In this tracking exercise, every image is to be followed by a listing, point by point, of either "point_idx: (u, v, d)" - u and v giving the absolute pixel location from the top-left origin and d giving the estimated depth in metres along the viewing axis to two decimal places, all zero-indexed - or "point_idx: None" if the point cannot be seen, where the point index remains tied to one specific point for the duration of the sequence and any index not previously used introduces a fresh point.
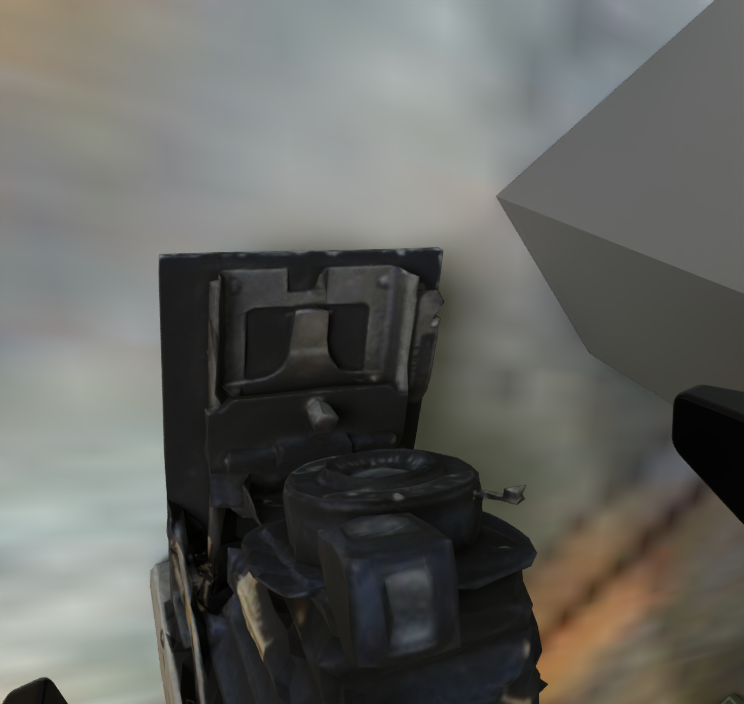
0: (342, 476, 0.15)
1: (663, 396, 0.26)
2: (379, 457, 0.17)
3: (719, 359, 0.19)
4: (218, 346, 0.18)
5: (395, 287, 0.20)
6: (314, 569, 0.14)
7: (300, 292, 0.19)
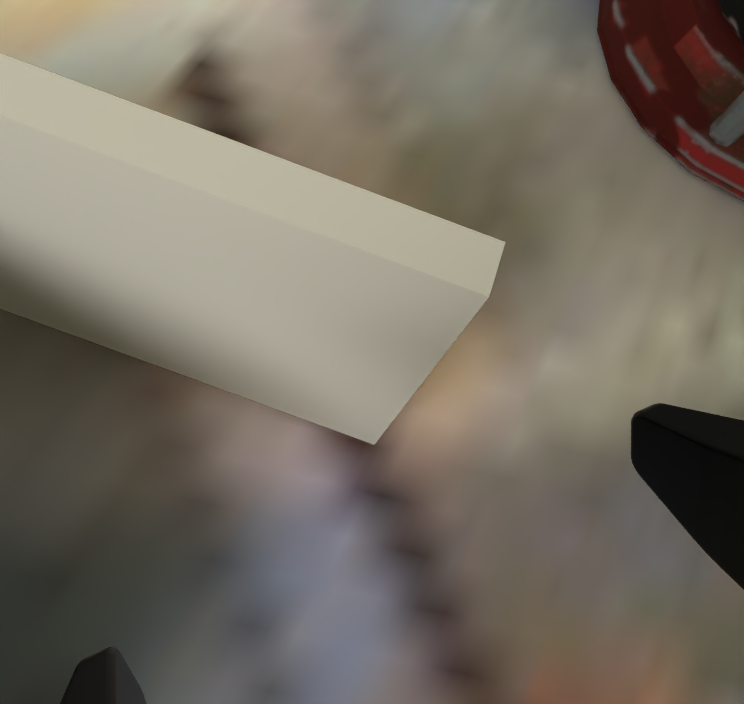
0: None
1: None
2: None
3: None
4: None
5: None
6: None
7: None
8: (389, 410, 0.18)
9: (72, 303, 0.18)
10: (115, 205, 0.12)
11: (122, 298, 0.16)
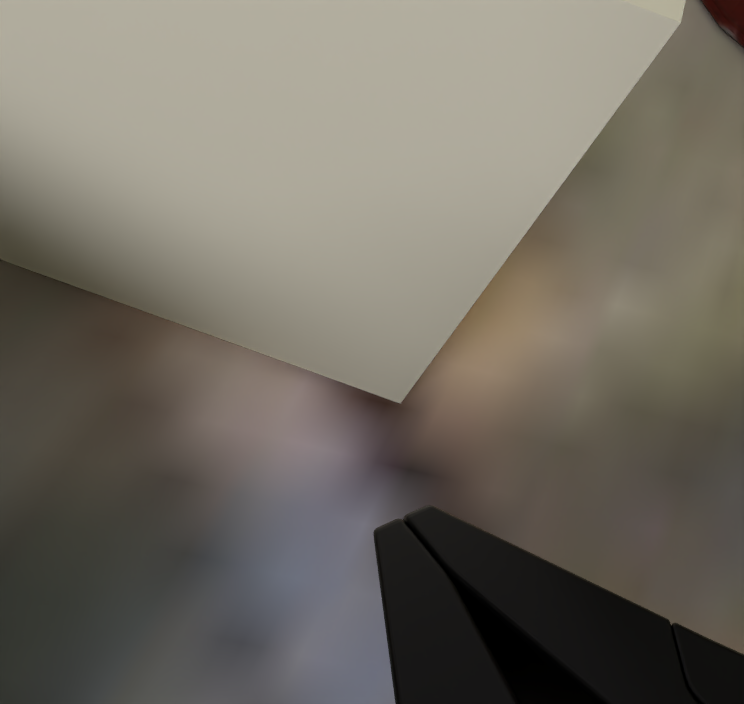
0: None
1: None
2: None
3: None
4: None
5: None
6: None
7: None
8: (430, 342, 0.13)
9: None
10: None
11: (45, 172, 0.11)
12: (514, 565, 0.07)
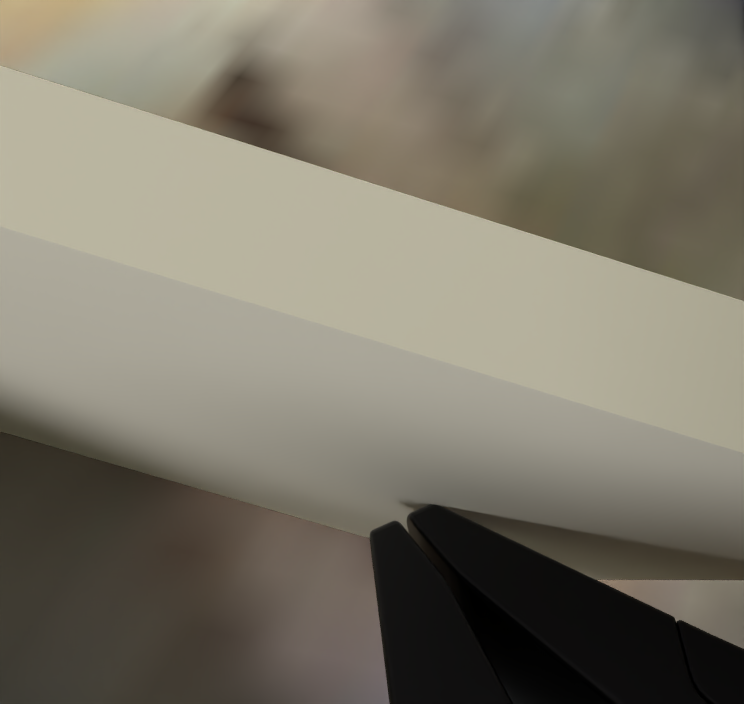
0: None
1: None
2: None
3: None
4: None
5: None
6: None
7: None
8: None
9: (79, 434, 0.12)
10: (189, 362, 0.05)
11: (165, 443, 0.10)
12: (518, 563, 0.07)
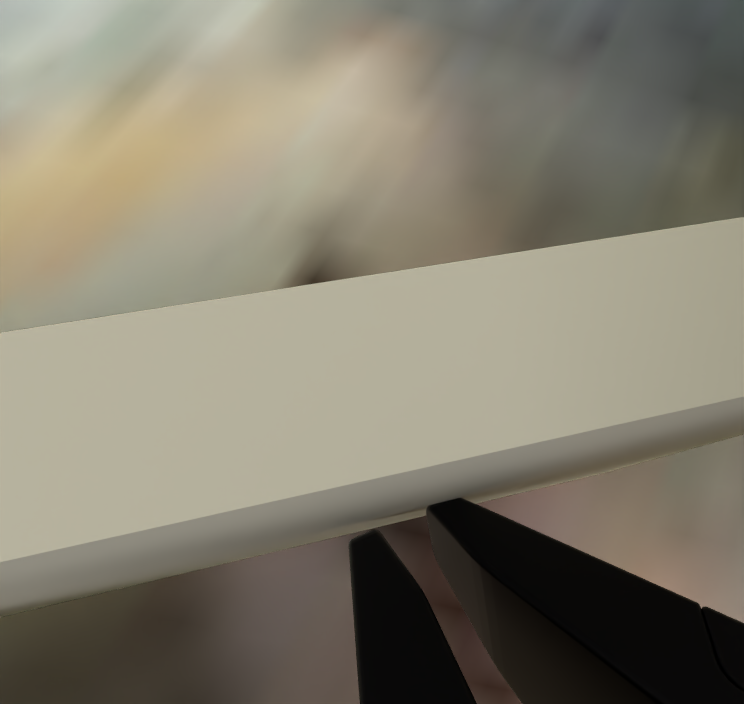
0: None
1: None
2: None
3: None
4: None
5: None
6: None
7: None
8: (709, 443, 0.12)
9: (205, 564, 0.11)
10: (513, 468, 0.05)
11: (327, 531, 0.09)
12: (541, 552, 0.07)
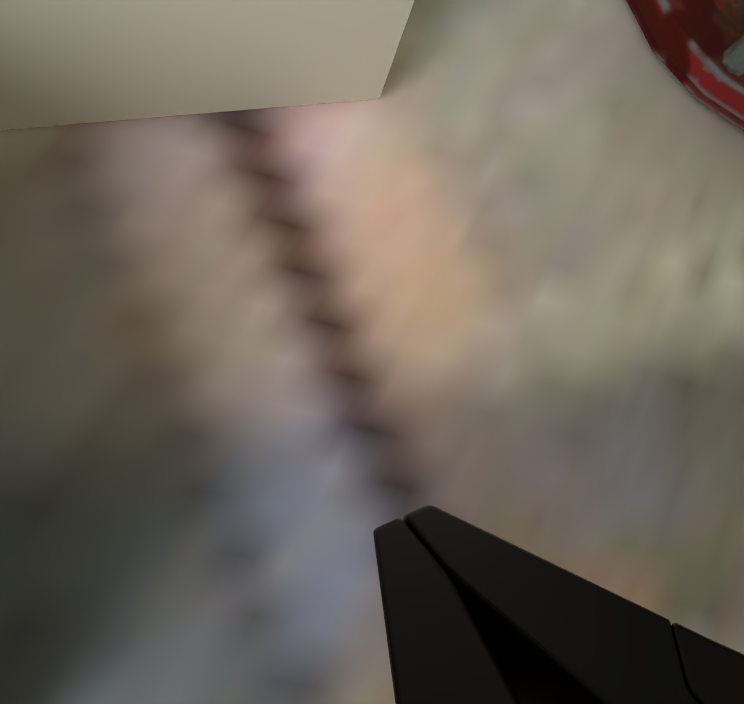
0: None
1: None
2: None
3: None
4: None
5: None
6: None
7: None
8: (400, 15, 0.19)
9: (72, 53, 0.18)
10: None
11: None
12: (514, 565, 0.07)
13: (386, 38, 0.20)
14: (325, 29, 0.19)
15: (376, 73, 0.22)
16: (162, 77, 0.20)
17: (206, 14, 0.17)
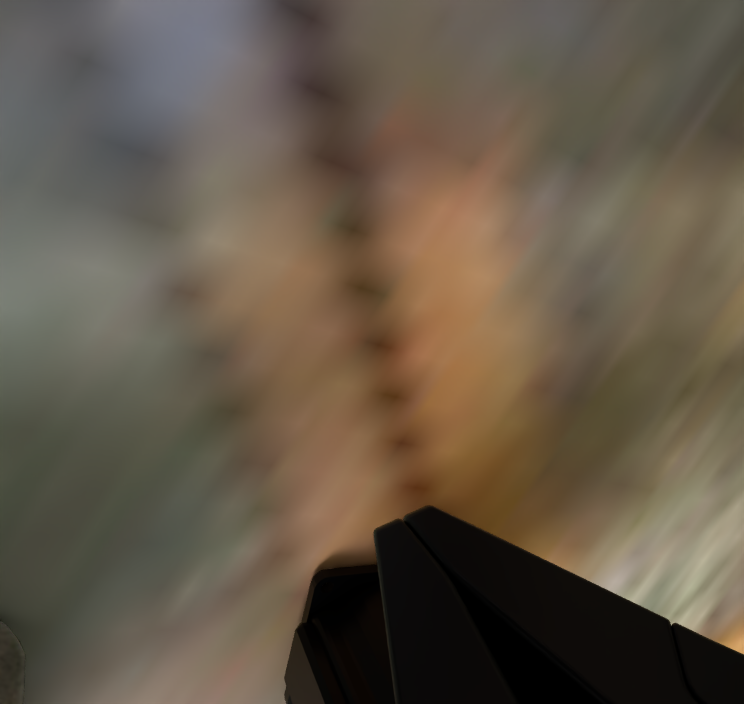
0: None
1: None
2: None
3: None
4: None
5: None
6: None
7: None
8: None
9: None
10: None
11: None
12: (514, 565, 0.07)
13: None
14: None
15: None
16: None
17: None
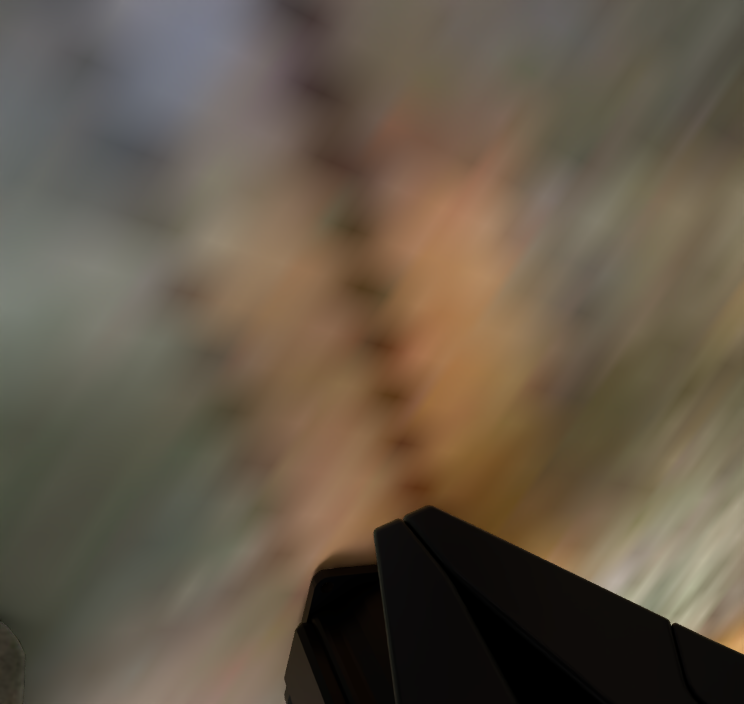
0: None
1: None
2: None
3: None
4: None
5: None
6: None
7: None
8: None
9: None
10: None
11: None
12: (514, 565, 0.07)
13: None
14: None
15: None
16: None
17: None
